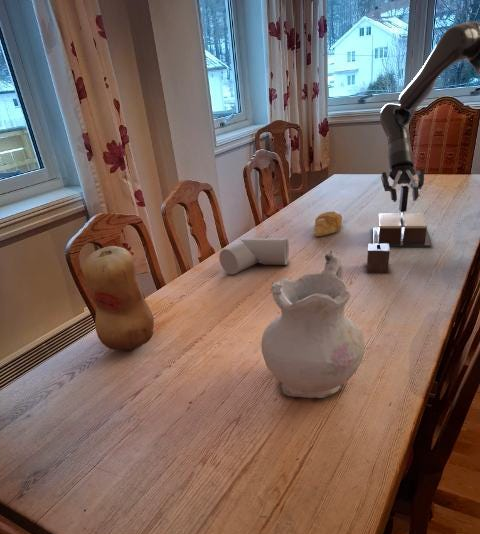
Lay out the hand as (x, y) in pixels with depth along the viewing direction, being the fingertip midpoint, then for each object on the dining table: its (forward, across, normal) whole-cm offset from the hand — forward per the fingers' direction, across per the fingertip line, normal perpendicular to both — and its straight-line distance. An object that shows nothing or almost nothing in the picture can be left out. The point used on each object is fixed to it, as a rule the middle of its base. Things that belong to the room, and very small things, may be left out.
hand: (405, 200), depth 143 cm
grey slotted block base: (+9, 0, +11) cm, 14 cm away
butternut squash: (+54, -78, -34) cm, 101 cm away
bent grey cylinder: (+22, -49, -2) cm, 54 cm away
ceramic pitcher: (+64, -35, -44) cm, 85 cm away
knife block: (+26, -13, -7) cm, 30 cm away
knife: (+8, 0, +10) cm, 13 cm away
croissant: (-1, -24, +21) cm, 32 cm away
